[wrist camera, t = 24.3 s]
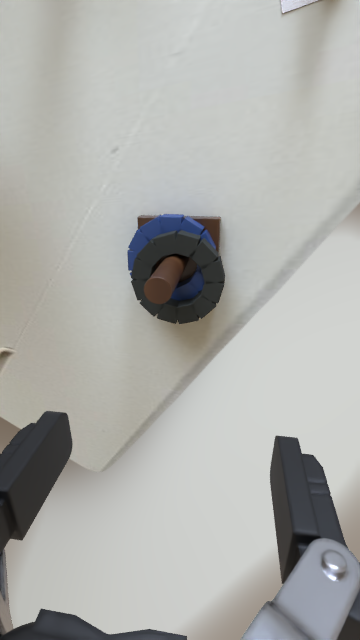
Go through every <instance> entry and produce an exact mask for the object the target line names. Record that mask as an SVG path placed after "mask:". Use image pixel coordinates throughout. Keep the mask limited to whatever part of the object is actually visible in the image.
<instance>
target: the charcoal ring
mask: <svg viewBox="0 0 360 640" xmlns="http://www.w3.org/2000/svg"><path fill="white" fill-rule="evenodd" d="M200 238H201V236H200V235H197V234H193V233H190V232H186V231H183V230H180V231H179V232H177V230H175V231H171V232H167V233H164V234H160V235H157V236H156V237H154V238H152V239H151V240H150V241H149V242H148V243H147V244H146V245H145V246H144V248H143V249H142V250H141V251H140V252H139V253H138V254H137V255H136V256H137V257H136V258H135V260H134V265H133V270H132V275H131V278H133V280H132V281H131V283H132V285H133V288H134V291H135V294H136V297H137V300H141V299H142V300H141V302H140V304H141V305H142V306H143V307H144V308H145V309H146V310H147V311H148V312H149V313H151V314H152V315H153V316H155V315H156V314H158V316H157V318H158V319H161V320H164V321H168V322H171V323H175V324H176V322H177V320H178V322H179V324H183V323H188V322H193V321H198V320H199V317H200V318H201V319H202V318H203V317H204V316H205V315H207V314H208V313H209V312H210V311H211V310H212V309H214V308H215V307H216V303H218V302H219V299H220V296H221V293H222V290H223V287H224V281H225V274H224V269H223V265H222V261H221V257H220V256H218V252H217V251H216V250H215V249H214V247H213V246H212V245H211V244H210V243H209V242H208V241H207V240H206V239H205V238H203V239H202V240H201V241H200ZM199 241H200V242H199ZM172 254H180V255H183V256H187V257H190V258H191V259H192V260H193V261H194V262H195V263H196V264H197V265H198V266H199V267H200V268H201V270H202V274H203V278H204V285H203V289H202V290H201V291H200V292H199V293H198V294H197V295H196V296H194V297H193V298H191V299H186V300H181V301H179V300H175V299H172V298H170V299H169V300H168V301H167V302H166V303H163V304H155V303H152V302H151V301H149V300H148V299H147V297H146V296H145V293H144V286H145V283H146V282H147V281H148V279H149V278H150V277H151V275H152V274H153V273H154V271H155V266H156V263H157V262H158V261H159V260H160V259H161V258H162V257H164V256H168V255H172Z"/></svg>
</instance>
